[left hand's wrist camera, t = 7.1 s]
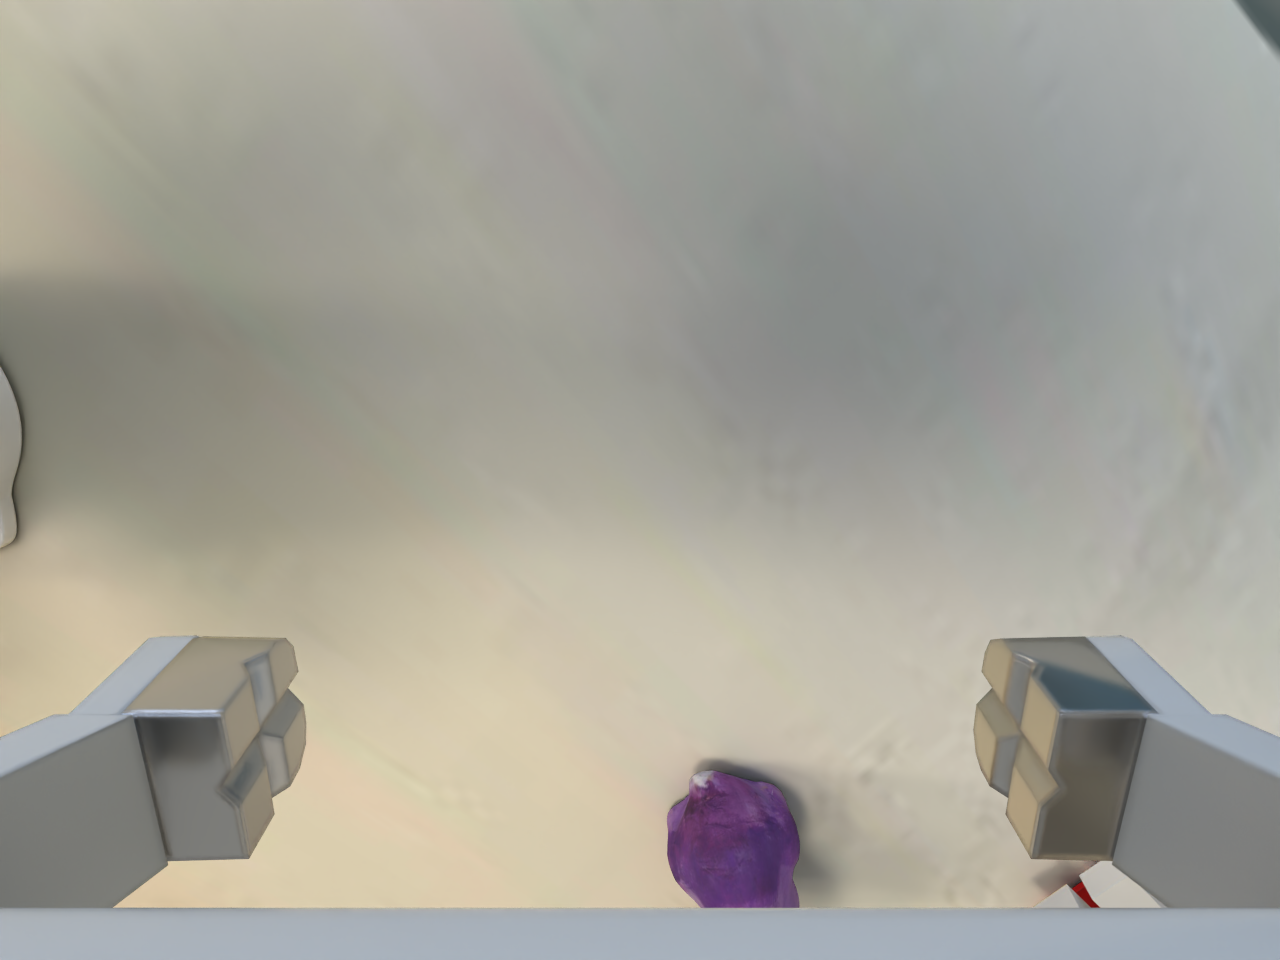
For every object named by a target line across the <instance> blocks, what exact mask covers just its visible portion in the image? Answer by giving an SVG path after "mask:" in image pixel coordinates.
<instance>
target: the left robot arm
mask: <svg viewBox="0 0 1280 960" xmlns="http://www.w3.org/2000/svg"><path fill="white" fill-rule="evenodd" d="M21 447H22V428H21V420H20V415H19V410H18V406H17V403H16V399H15V396H14V394H13V391H12V388H11V386H10V384H9V382H8V379H7V378H6V376H5V374H4V372H3V370H2V368H1V367H0V548H1V547H4V546H6V545H8V544H10V543H11V542H12V541H13V540H14V539H15V537H16V532H17V523H16V515H15V509H14V504H13V499H12V486H13V481H14V478H15V474H16V471H17V468H18V464H19V460H20V455H21ZM297 673H298V667H297V662H296V657H295V651H294V647H293V645H292V644H291V643H290V642H289V641H288V640H287V639H286V638H261V637H209V636H203V637H199V636H160V637H153V638H149V639H148V640H147V641H146V642H144V643H143V644H142V645H141V646H140V647H139V648H138V649H137V650H136V651H135V652H134V653H133V654H132V655H131V656H130V657H129V658H128V659H127V660H125V661H124V662H123V663H122V664H121V665H120V666H119V667H118V668H117V669H116V670H115V671H114V672H113V673H112V674H111V675H110V676H109V677H107V678H106V679H105V680H104V681H103V682H102V683H101V684H100V685H99V686H98V687H97V688H96V689H95V690H94V691H93V692H92V693H91V694H90V695H88V696H87V697H86V698H85V699H84V700H83V701H82V702H81V703H80V704H79V705H78V706H77V707H76V708H75V709H74V710H73V711H72V712H70V713H69V714H68V715H52V716H49V717H47V718H45V719H42V720H40V721H38V722H35V723H33V724H31V725H28V726H26V727H23V728H21V729H19V730H16V731H14V732H12V733H9V734H7V735H5V736H2V737H0V960H1280V737H1278V736H1275V735H1273V734H1271V733H1268V732H1266V731H1264V730H1261V729H1259V728H1256V727H1254V726H1252V725H1249V724H1247V723H1245V722H1242V721H1240V720H1238V719H1235V718H1233V717H1231V716H1228V715H1212V714H1211V713H1210V712H1209V711H1207V710H1206V709H1205V708H1204V707H1203V706H1202V705H1201V704H1200V703H1199V702H1198V701H1197V700H1196V699H1195V698H1194V697H1193V696H1192V695H1191V694H1190V693H1189V692H1187V691H1186V690H1185V689H1184V688H1183V687H1182V686H1181V685H1180V684H1179V683H1178V682H1177V681H1176V680H1175V679H1174V678H1173V677H1172V676H1171V675H1170V674H1168V673H1167V672H1166V671H1165V670H1164V669H1163V668H1162V667H1161V666H1160V665H1159V664H1158V663H1157V662H1156V661H1155V660H1154V659H1153V658H1152V657H1151V656H1150V655H1148V654H1147V653H1146V652H1145V651H1144V650H1143V649H1142V648H1141V647H1140V646H1139V645H1138V644H1137V643H1136V642H1135V641H1134V640H1133V639H1130V638H1127V637H1124V636H1121V635H1116V636H1092V637H1047V638H1006V639H994V640H990V642H989V645H988V647H987V649H986V651H985V655H984V660H983V666H982V673H983V674H984V676H985V678H986V679H987V681H988V682H989V684H990V685H991V687H992V689H991V690H990V691H989V692H988V693H987V694H986V695H985V696H984V697H983V698H982V699H981V700H980V701H979V702H978V703H977V704H976V712H975V720H974V729H973V730H974V740H975V750H976V755H977V759H978V762H979V765H980V768H981V771H982V773H983V775H984V776H985V778H986V780H987V782H988V784H989V786H990V787H992V788H993V789H995V790H997V791H998V792H1000V793H1001V794H1003V795H1004V796H1006V797H1007V798H1008V802H1007V808H1006V816H1007V818H1008V819H1009V821H1010V823H1011V825H1012V826H1013V828H1014V830H1015V832H1016V833H1017V835H1018V837H1019V838H1020V840H1021V842H1022V844H1023V845H1024V847H1025V849H1026V851H1027V852H1028V854H1029V856H1030V858H1031V859H1054V860H1090V861H1113V862H1112V865H1113V866H1114V867H1116V868H1117V869H1118V870H1119V871H1121V872H1122V873H1123V874H1125V875H1126V876H1127V877H1129V878H1130V879H1131V880H1132V881H1134V882H1135V883H1136V884H1138V885H1139V886H1140V887H1142V888H1143V889H1144V890H1145V891H1147V892H1148V893H1149V894H1151V895H1152V896H1153V897H1155V898H1156V899H1157V900H1159V901H1160V902H1161V903H1162V904H1164V905H1165V906H1166V907H1168V908H113V907H114V906H115V905H117V904H118V903H119V902H120V901H122V900H123V899H124V898H126V897H127V896H128V895H130V894H131V893H132V892H134V891H135V890H136V889H137V888H139V887H140V886H141V885H143V884H144V883H145V882H147V881H148V880H149V879H150V878H152V877H153V876H154V875H156V874H157V873H158V872H160V871H161V870H162V869H164V868H165V867H166V866H167V865H168V862H167V861H189V860H224V859H249V858H250V856H251V854H252V853H253V851H254V849H255V847H256V846H257V844H258V842H259V840H260V839H261V837H262V835H263V833H264V832H265V830H266V828H267V826H268V825H269V823H270V821H271V819H272V818H273V816H274V808H273V802H272V798H273V797H274V796H276V795H277V794H279V793H280V792H282V791H283V790H285V789H287V788H288V787H290V786H291V784H292V782H293V780H294V778H295V776H296V774H297V773H298V771H299V769H300V766H301V761H302V757H303V753H304V749H305V745H306V718H305V711H304V704H303V703H302V702H301V701H300V700H299V699H298V698H297V697H296V696H295V695H294V694H293V693H292V692H291V691H290V690H289V689H288V687H289V685H290V684H291V682H292V681H293V679H294V678H295V676H296V674H297Z"/></svg>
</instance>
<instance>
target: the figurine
mask: <svg viewBox="0 0 1280 960" xmlns="http://www.w3.org/2000/svg"><path fill="white" fill-rule="evenodd" d="M667 826H668V851H667V855H668V861H669V865H670V868H671V871H672V873H673V876H674V878H675V880H676V882H677V883H678V884H679V885H680V886H681V888H682V889H683V890H684V891H685V892H686V893H687V894H688V895H689V896H690V897H691V898H692V899H694V900H695V902H696V903H697V904H698V905H699V906H700V907H701V908H799V897H798V893H797V890H796V887H795V884H794V881H793V879H792V876H793V870H794V867H795V865H796V863H797V861H798V859H799V854H800V841H799V835H798V831H797V827H796V824H795V821H794V819H793V817H792V815H791V813H790V811H789V809H788V807H787V803H786V800H785V798H784V796H783V794H782V792H781V790H779V789H778V788H777V787H776V786H775V785H774V784H770V783H766V782H762V781H760V782H754V781H750V780H746V779H743V778H739V777H736V776H732V775H728V774H725V773H721V772H718V771H713V770H710V771H702V772H699V773H696V774H694V775H693V776H692V777H691V779H690V780H689V795H688V796H687V797H686V798H685V799H684V800H682V801H681V802H680V803H678V804H677V805H675V806H674V807H672V809H671V810H670V811H669V813H668V816H667Z"/></svg>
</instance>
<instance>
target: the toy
mask: <svg viewBox="0 0 1280 960" xmlns="http://www.w3.org/2000/svg"><path fill="white" fill-rule="evenodd" d="M1112 862H1113V861H1100V862H1098V863H1097V864H1095V865H1094V866H1092V867H1091V868H1089V869H1088V870H1086V871H1085V872H1083V873H1082V874H1080V875H1079V876H1080V878H1081V880H1082V882H1080V883H1079V884H1078V885H1076V886H1075V887H1073V888H1072V889H1071V888H1070V887H1069V886H1068V885H1067V884H1066V885H1064V886H1063V887H1061V888H1060V889H1058V890H1057V891H1055V892H1054V893H1052V894H1051V895H1050V896H1048V897H1047V898H1045V899H1044V900H1042V901H1041V902H1039V903H1038V904H1036V905H1035V906H1033V908H1168V907H1166V906H1165V905H1164V904H1162V903H1161V902H1160V901H1159V900H1157V899H1156V898H1155V897H1153V896H1152V895H1151V894H1149V893H1148V892H1147V891H1145V890H1144V889H1143V888H1142V887H1140V886H1139V885H1138V884H1136V883H1135V882H1134V881H1132V880H1131V879H1130V878H1129V877H1127V876H1126V875H1125V874H1123V873H1122V872H1121V871H1119V870H1118V869H1117V868H1116V867H1114V866H1113V865H1112Z"/></svg>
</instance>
